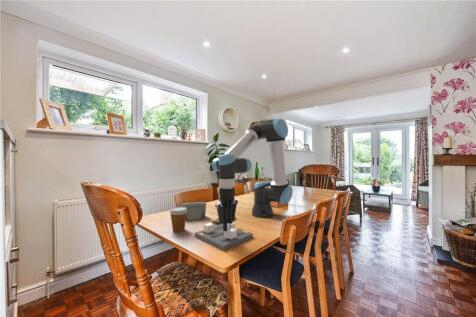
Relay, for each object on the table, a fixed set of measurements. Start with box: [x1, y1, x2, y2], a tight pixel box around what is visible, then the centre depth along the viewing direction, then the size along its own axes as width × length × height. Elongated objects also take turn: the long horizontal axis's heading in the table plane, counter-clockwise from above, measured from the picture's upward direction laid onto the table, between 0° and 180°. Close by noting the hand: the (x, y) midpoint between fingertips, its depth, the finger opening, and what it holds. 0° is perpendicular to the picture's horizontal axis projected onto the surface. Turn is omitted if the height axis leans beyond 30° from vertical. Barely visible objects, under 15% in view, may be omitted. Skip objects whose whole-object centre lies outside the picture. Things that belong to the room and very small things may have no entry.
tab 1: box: [203, 222, 215, 233], centre depth 105 cm, size 4×4×4 cm
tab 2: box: [228, 228, 237, 239], centre depth 98 cm, size 4×4×4 cm
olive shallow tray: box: [211, 216, 236, 226], centre depth 129 cm, size 16×8×3 cm, turn 152°
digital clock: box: [180, 201, 207, 221], centre depth 134 cm, size 16×9×11 cm, turn 96°
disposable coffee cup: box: [169, 206, 187, 233], centre depth 113 cm, size 10×10×12 cm
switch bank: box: [194, 224, 254, 251], centre depth 104 cm, size 20×22×2 cm
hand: (227, 237), depth 96 cm, fingers closed
